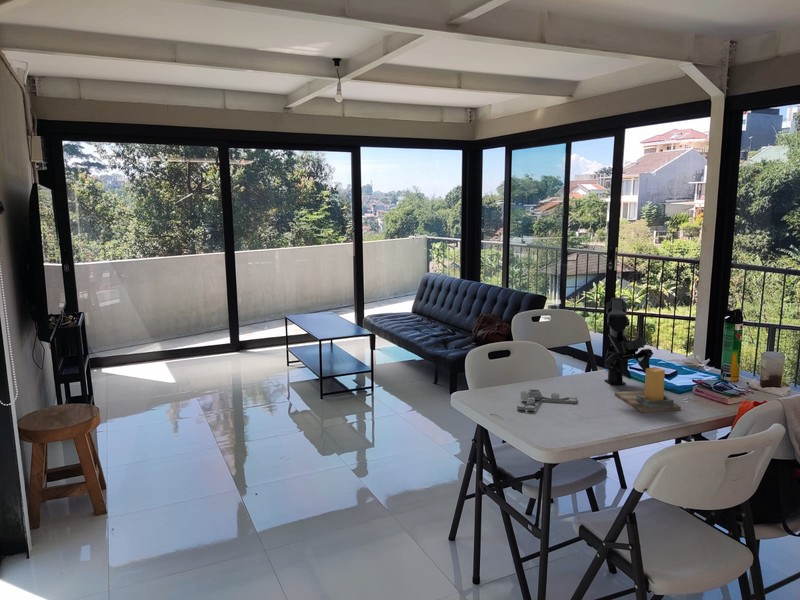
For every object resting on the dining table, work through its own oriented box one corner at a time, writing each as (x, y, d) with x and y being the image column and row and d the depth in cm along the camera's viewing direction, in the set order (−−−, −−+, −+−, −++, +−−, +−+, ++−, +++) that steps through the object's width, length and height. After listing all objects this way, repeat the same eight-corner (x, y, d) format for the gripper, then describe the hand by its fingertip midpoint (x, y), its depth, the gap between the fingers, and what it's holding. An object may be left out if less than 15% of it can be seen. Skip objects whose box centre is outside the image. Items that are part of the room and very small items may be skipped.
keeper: (614, 395, 230) (614, 386, 230) (650, 392, 232) (650, 383, 232) (641, 412, 211) (642, 402, 210) (680, 409, 213) (681, 399, 212)
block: (644, 402, 218) (645, 368, 216) (653, 400, 219) (655, 367, 217) (653, 406, 213) (654, 371, 211) (663, 404, 215) (664, 370, 213)
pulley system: (500, 404, 226) (524, 414, 212) (500, 392, 225) (524, 401, 212) (557, 396, 237) (583, 404, 224) (557, 384, 237) (583, 392, 223)
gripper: (612, 333, 221) (632, 369, 212) (650, 328, 227) (671, 362, 219) (597, 349, 229) (616, 384, 221) (635, 343, 236) (654, 377, 227)
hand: (640, 376), depth 222 cm, fingers open, 9 cm apart
